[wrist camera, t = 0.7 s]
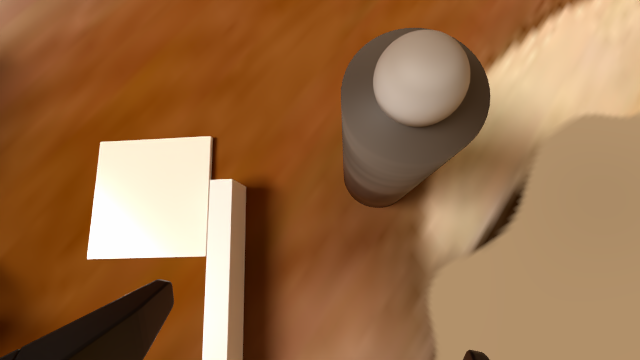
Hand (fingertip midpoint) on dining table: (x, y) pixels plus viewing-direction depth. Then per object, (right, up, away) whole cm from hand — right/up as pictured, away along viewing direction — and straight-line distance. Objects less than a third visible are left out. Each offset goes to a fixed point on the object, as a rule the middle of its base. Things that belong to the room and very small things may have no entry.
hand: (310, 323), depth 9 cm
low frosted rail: (-6, -4, +13) cm, 15 cm away
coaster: (-12, +3, +15) cm, 20 cm away
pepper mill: (+4, +5, +14) cm, 15 cm away
